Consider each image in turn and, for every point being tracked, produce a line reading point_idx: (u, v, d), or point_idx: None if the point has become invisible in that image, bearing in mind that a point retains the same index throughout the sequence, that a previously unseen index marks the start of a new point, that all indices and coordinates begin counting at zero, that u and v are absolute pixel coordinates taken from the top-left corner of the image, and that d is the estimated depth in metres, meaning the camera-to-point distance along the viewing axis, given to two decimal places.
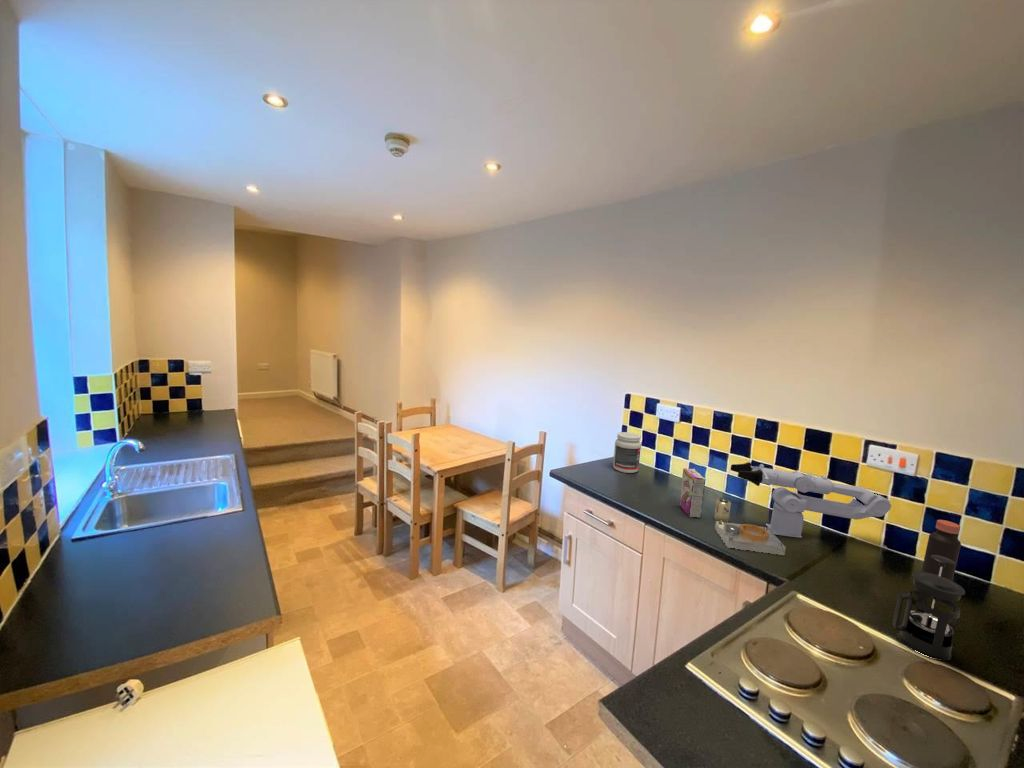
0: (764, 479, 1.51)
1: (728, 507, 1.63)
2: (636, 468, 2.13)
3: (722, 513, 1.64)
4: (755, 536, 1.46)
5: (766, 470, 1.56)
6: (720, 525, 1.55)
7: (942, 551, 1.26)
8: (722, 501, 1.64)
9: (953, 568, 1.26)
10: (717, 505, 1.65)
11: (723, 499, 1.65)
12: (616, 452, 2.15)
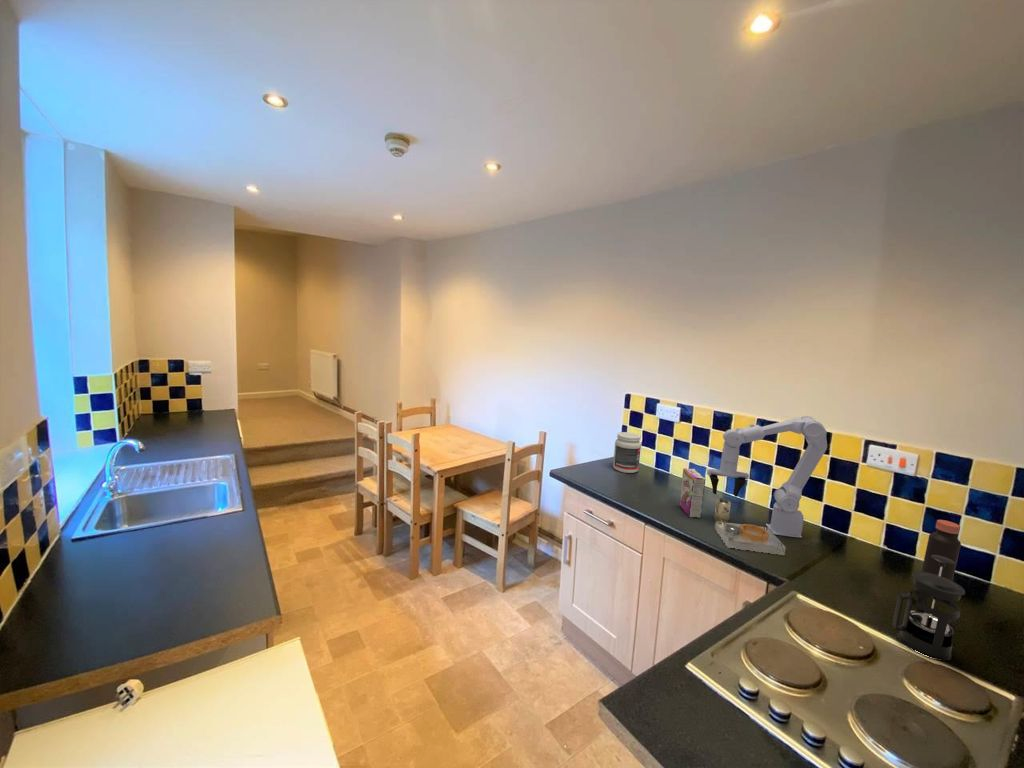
0: (707, 473, 1.66)
1: (728, 507, 1.63)
2: (636, 468, 2.13)
3: (722, 513, 1.64)
4: (755, 536, 1.46)
5: None
6: (720, 525, 1.55)
7: (942, 551, 1.26)
8: (722, 501, 1.64)
9: (953, 568, 1.26)
10: (717, 505, 1.65)
11: (723, 499, 1.65)
12: (616, 452, 2.15)
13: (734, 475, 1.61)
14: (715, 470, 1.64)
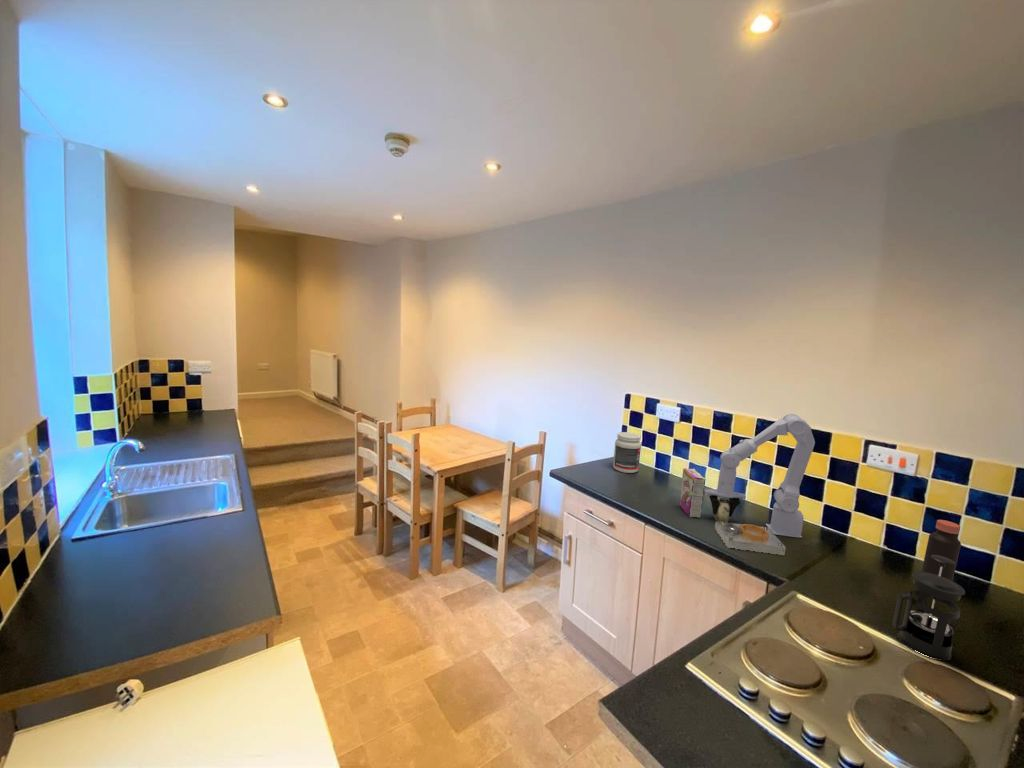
0: (704, 493, 1.67)
1: (728, 507, 1.63)
2: (636, 468, 2.13)
3: (722, 513, 1.64)
4: (755, 536, 1.46)
5: None
6: (720, 525, 1.55)
7: (942, 551, 1.26)
8: (722, 501, 1.64)
9: (953, 568, 1.26)
10: None
11: (723, 499, 1.65)
12: (616, 452, 2.15)
13: (731, 496, 1.62)
14: (712, 491, 1.66)
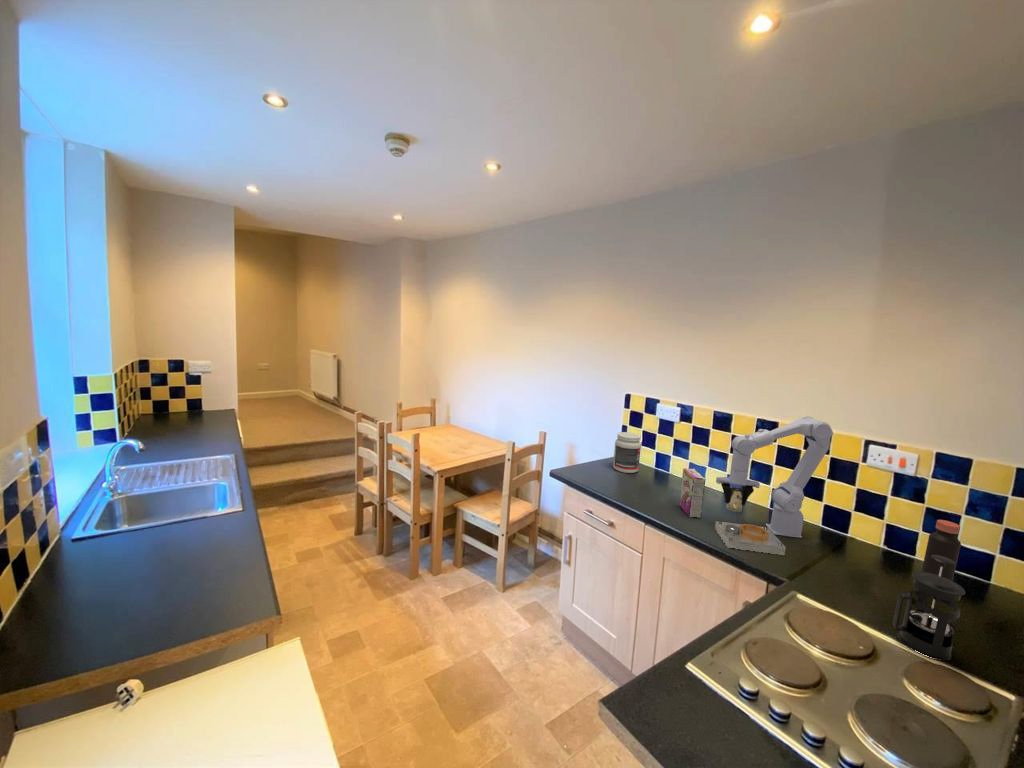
0: (716, 481, 1.60)
1: (741, 495, 1.57)
2: (636, 468, 2.13)
3: (735, 501, 1.57)
4: (755, 536, 1.46)
5: None
6: (720, 525, 1.55)
7: (942, 551, 1.26)
8: (735, 489, 1.58)
9: (953, 568, 1.26)
10: None
11: (735, 487, 1.59)
12: (616, 452, 2.15)
13: (744, 484, 1.55)
14: (724, 478, 1.59)
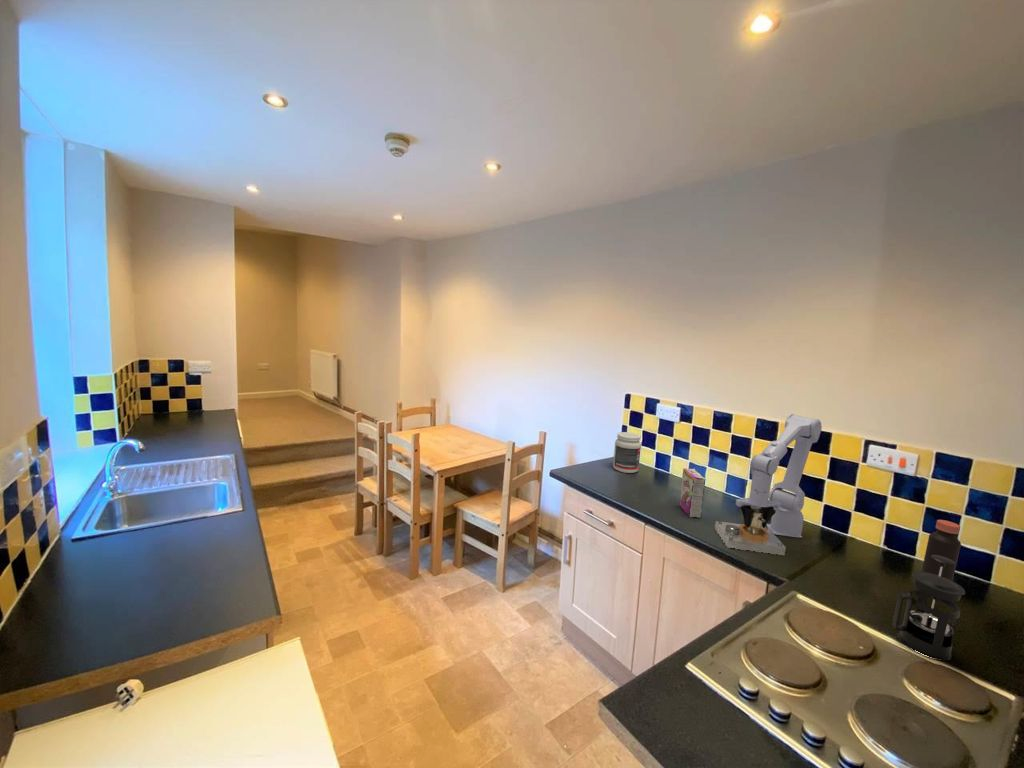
0: (736, 504, 1.49)
1: (762, 517, 1.47)
2: (636, 468, 2.13)
3: (756, 524, 1.47)
4: (755, 536, 1.46)
5: None
6: (720, 525, 1.55)
7: (942, 551, 1.26)
8: (755, 511, 1.48)
9: (953, 568, 1.26)
10: None
11: (755, 508, 1.49)
12: (616, 452, 2.15)
13: (767, 505, 1.45)
14: (745, 500, 1.48)
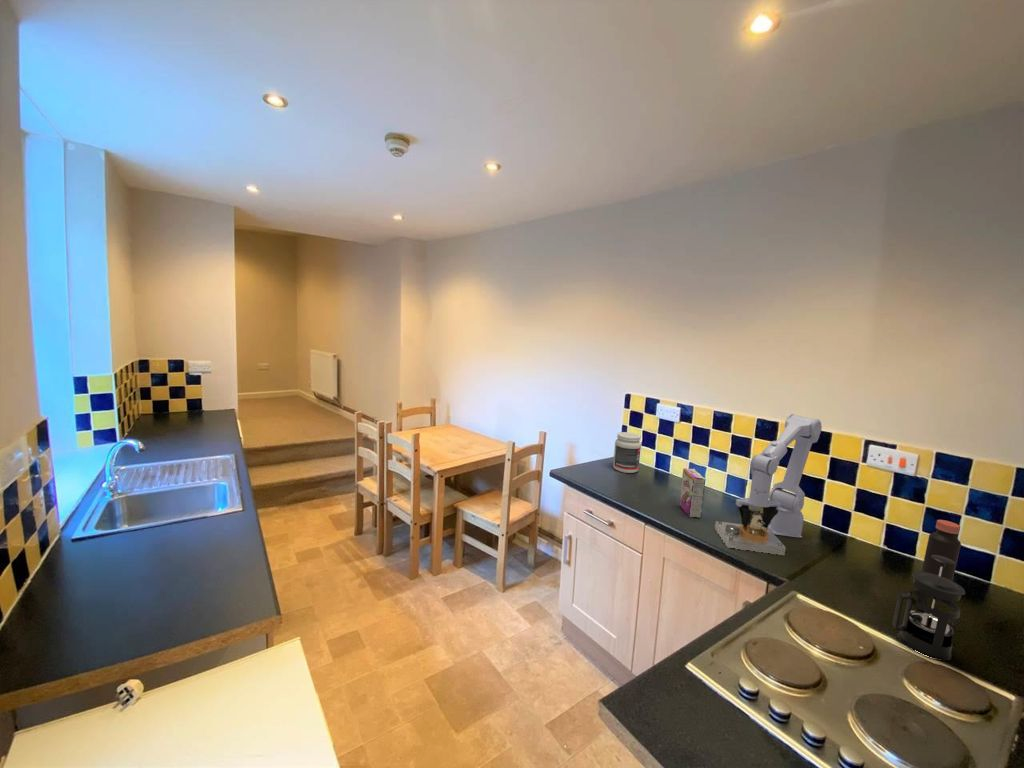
0: (736, 503, 1.49)
1: (761, 519, 1.47)
2: (636, 468, 2.13)
3: (756, 526, 1.47)
4: (755, 536, 1.46)
5: None
6: (720, 525, 1.55)
7: (942, 551, 1.26)
8: (754, 513, 1.48)
9: (953, 568, 1.26)
10: (749, 518, 1.48)
11: (754, 510, 1.49)
12: (616, 452, 2.15)
13: (767, 505, 1.45)
14: (745, 500, 1.48)
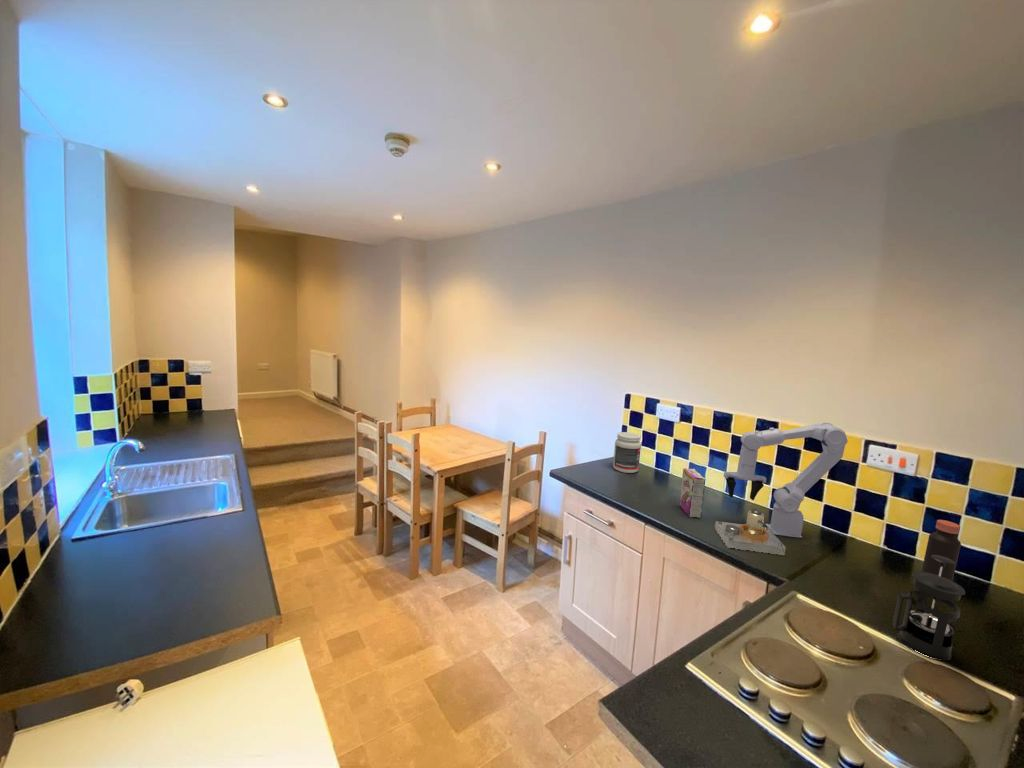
0: (724, 476, 1.63)
1: (762, 519, 1.47)
2: (636, 468, 2.13)
3: (756, 526, 1.47)
4: (755, 536, 1.46)
5: None
6: (720, 525, 1.55)
7: (942, 551, 1.26)
8: (756, 513, 1.48)
9: (953, 568, 1.26)
10: (750, 518, 1.48)
11: (756, 511, 1.49)
12: (616, 452, 2.15)
13: (752, 478, 1.59)
14: (732, 473, 1.62)
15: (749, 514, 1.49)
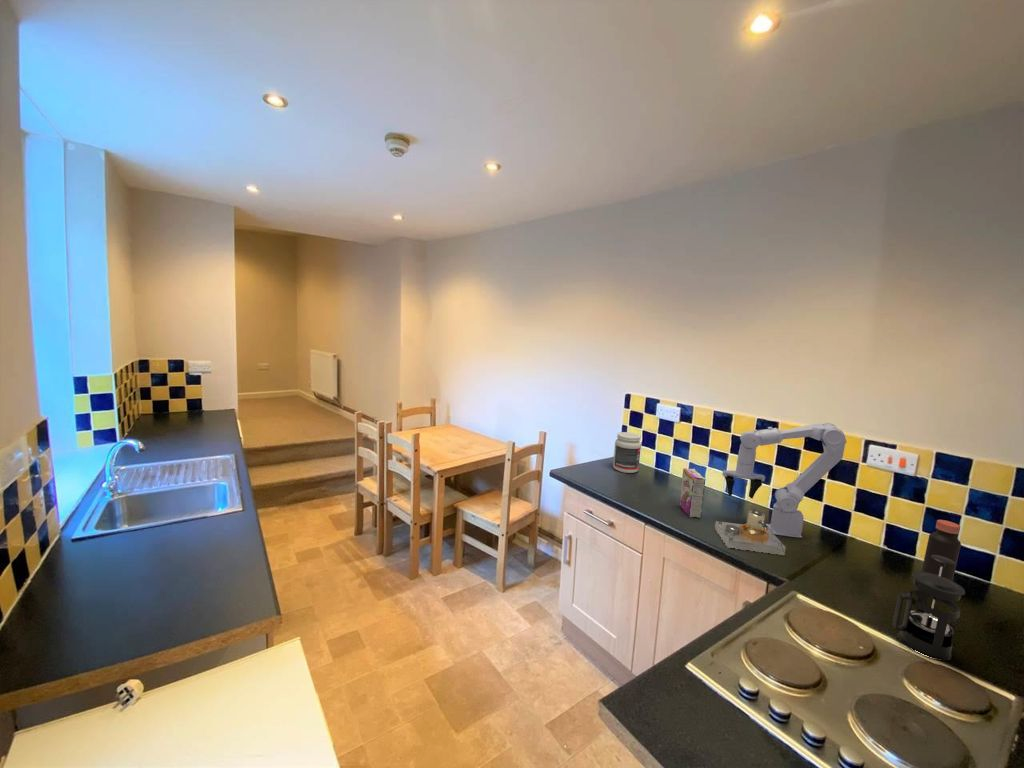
0: (722, 474, 1.65)
1: (763, 520, 1.47)
2: (636, 468, 2.13)
3: (756, 527, 1.47)
4: (755, 536, 1.46)
5: None
6: (720, 525, 1.55)
7: (942, 551, 1.26)
8: (756, 514, 1.47)
9: (953, 568, 1.26)
10: (750, 518, 1.48)
11: (756, 511, 1.48)
12: (616, 452, 2.15)
13: (750, 477, 1.60)
14: (731, 471, 1.64)
15: (749, 514, 1.48)
